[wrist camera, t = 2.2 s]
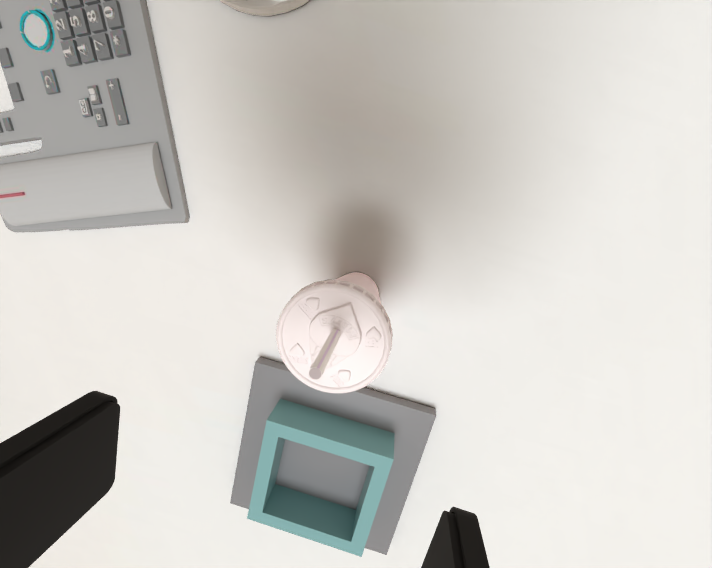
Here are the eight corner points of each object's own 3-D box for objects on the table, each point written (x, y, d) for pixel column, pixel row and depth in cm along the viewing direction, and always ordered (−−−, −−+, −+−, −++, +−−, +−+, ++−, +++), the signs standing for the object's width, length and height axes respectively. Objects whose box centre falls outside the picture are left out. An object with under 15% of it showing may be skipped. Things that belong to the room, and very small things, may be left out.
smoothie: (409, 278, 26) (418, 357, 12) (373, 344, 28) (346, 476, 14) (337, 241, 26) (268, 280, 12) (306, 309, 28) (214, 408, 14)
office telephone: (178, 223, 25) (-29, 244, 28) (198, 221, 28) (6, 241, 31) (93, -160, 20) (-151, -83, 23) (128, -119, 23) (-97, -55, 26)
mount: (260, 356, 29) (238, 379, 25) (435, 408, 28) (440, 440, 24) (235, 494, 33) (213, 532, 30) (386, 544, 32) (384, 590, 28)
